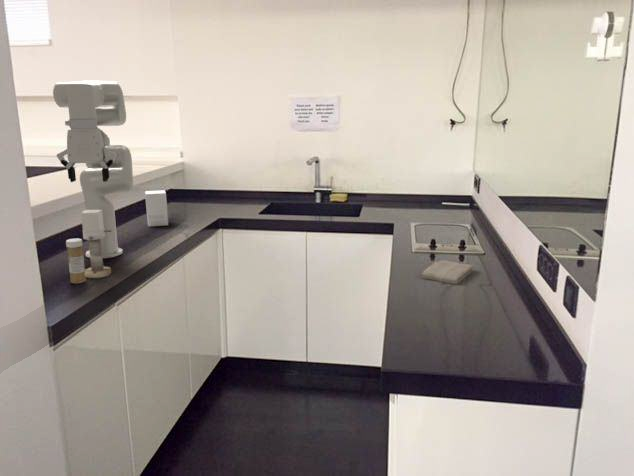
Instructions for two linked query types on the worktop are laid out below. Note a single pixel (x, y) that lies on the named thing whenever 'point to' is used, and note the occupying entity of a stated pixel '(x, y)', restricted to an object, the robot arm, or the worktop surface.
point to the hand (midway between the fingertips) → (89, 181)
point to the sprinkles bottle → (76, 260)
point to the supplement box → (156, 208)
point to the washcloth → (447, 271)
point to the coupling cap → (93, 225)
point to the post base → (99, 274)
